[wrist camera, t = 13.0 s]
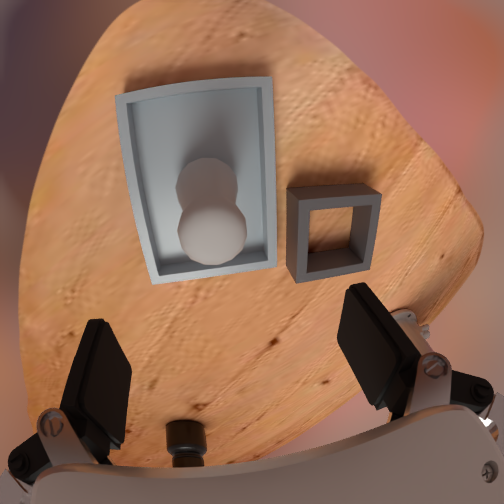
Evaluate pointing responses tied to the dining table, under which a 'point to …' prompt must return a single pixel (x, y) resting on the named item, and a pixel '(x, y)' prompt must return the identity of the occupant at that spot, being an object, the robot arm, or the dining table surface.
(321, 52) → the dining table surface
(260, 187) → the tray
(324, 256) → the holder
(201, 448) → the ink bottle
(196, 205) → the salt shaker
